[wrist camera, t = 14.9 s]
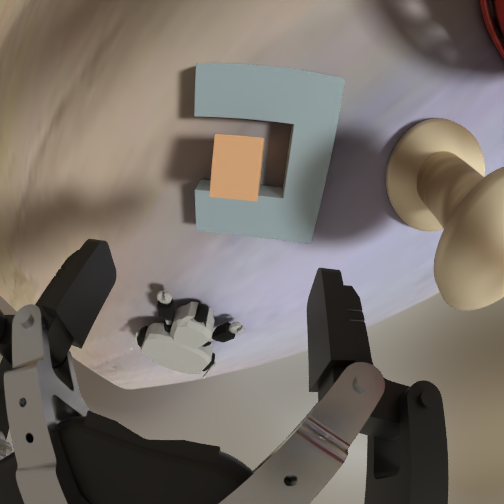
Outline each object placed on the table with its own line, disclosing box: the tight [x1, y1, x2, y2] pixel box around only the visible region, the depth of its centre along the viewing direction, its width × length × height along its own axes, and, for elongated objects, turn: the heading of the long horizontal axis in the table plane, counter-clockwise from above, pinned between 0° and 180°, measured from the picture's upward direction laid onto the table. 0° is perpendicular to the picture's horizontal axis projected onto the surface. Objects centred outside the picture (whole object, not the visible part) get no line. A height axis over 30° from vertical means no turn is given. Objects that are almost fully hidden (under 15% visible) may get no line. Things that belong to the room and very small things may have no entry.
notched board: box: [194, 63, 345, 244], centre depth 20 cm, size 14×10×2 cm
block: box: [210, 134, 264, 202], centre depth 19 cm, size 4×3×5 cm
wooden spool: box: [386, 118, 504, 310], centre depth 16 cm, size 11×11×11 cm
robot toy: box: [131, 291, 244, 379], centre depth 35 cm, size 12×4×15 cm
